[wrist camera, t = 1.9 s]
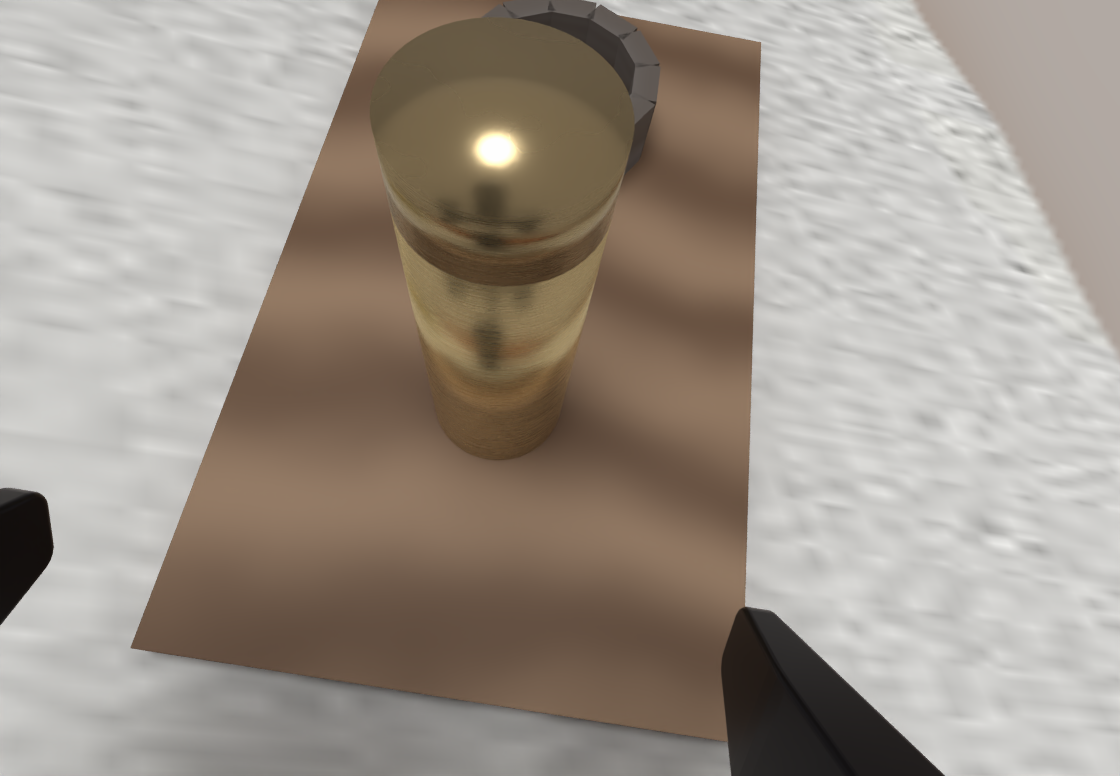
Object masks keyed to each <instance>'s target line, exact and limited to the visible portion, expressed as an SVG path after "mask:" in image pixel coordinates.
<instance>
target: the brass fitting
mask: <svg viewBox="0 0 1120 776" xmlns="http://www.w3.org/2000/svg"><path fill="white" fill-rule="evenodd" d="M370 121H371V128H372V133H373V137H374V141H375V146H376V150H377V155H378V159H379V163H380V168H381V172H382V177H383V181H384V186H385V190H386V194H387V199H388V203H389V208H390V212H391V216H392V221H393V225H394V230H395V234H396V238H397V243H398V247H399V252H400V256H401V260H402V265H403V269H404V274H405V278H406V282H407V287H408V291H409V296H410V300H411V304H412V309H413V313H414V318H415V322H416V326H417V331H418V335H419V340H420V344H421V349H422V353H423V357H424V362H425V366H426V371H427V375H428V379H429V384H430V388H431V393H432V397H433V401H434V406H435V410H436V415H437V418H438V421H439V423H440V425H441V428H442V430H443V431H444V433H445V434H446V436H447V437H448V438H449V439H450V440H451V441H452V442H453V443H454V444H455V445H456V446H457V447H459V448H460V449H462V450H463V451H465V452H467V453H469V454H471V455H473V456H476V457H479V458H483V459H488V460H508V459H514V458H517V457H520V456H523V455H525V454H528V453H530V452H531V451H533V450H535V449H536V448H538V447H539V446H540V445H541V444H542V443H544V441H545V440H546V439H547V438H548V437H549V436H550V434H551V433H552V431H553V430H554V428H555V426H556V424H557V421H558V418H559V415H560V412H561V408H562V404H563V400H564V397H565V393H566V389H567V385H568V382H569V378H570V374H571V370H572V367H573V363H574V359H575V355H576V352H577V348H578V344H579V341H580V337H581V333H582V329H583V326H584V322H585V318H586V314H587V311H588V307H589V303H590V299H591V296H592V292H593V288H594V284H595V281H596V277H597V273H598V269H599V266H600V262H601V258H602V254H603V251H604V247H605V243H606V239H607V236H608V232H609V228H610V224H611V221H612V217H613V213H614V209H615V206H616V202H617V198H618V195H619V191H620V187H621V183H622V180H623V176H624V172H625V168H626V165H627V161H628V157H629V153H630V150H631V146H632V142H633V136H634V130H635V121H634V111H633V106H632V102H631V99H630V96H629V93H628V91H627V89H626V87H625V85H624V83H623V81H622V79H621V78H620V77H619V75H618V74H617V72H616V71H615V70H614V68H613V67H612V66H611V65H610V64H609V63H608V62H607V61H606V60H605V59H604V58H603V57H602V56H601V55H600V54H599V53H597V52H596V51H595V50H594V49H593V48H591V47H590V46H588V45H587V44H585V43H584V42H582V41H581V40H579V39H577V38H575V37H573V36H571V35H569V34H568V33H565V32H563V31H561V30H558V29H556V28H553V27H550V26H547V25H544V24H540V23H537V22H532V21H527V20H522V19H514V18H505V17H485V18H472V19H466V20H460V21H456V22H452V23H448V24H445V25H442V26H439V27H436V28H434V29H431V30H429V31H427V32H425V33H423V34H421V35H419V36H417V37H415V38H414V39H413V40H411V41H410V42H408V43H407V44H405V45H404V46H403V47H402V48H400V49H399V50H398V51H397V52H396V53H395V54H394V55H393V56H392V57H391V58H390V59H389V61H388V62H387V63H386V64H385V66H384V67H383V69H382V70H381V72H380V74H379V75H378V77H377V80H376V82H375V85H374V87H373V90H372V95H371V100H370Z"/></svg>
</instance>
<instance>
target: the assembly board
mask: <svg viewBox="0 0 1120 776" xmlns="http://www.w3.org/2000/svg"><path fill="white" fill-rule="evenodd" d="M485 17H505V18H514V19H522V20H527V21H532V22H537V23H540V24H544V25H547V26H550V27H553V28H556V29H558V30H561V31H563V32H565V33H568V34H569V35H571V36H573V37H575V38H577V39H579V40H581V41H582V42H584V43H585V44H587V45H588V46H590V47H591V48H593V49H594V50H595V51H596V52H597V53H599V54H600V55H601V56H602V57H603V58H604V59H605V60H606V61H607V62H608V63H609V64H610V65H611V66H612V67H613V68H614V70H615V71H616V72H617V74H618V75H619V77H620V78H621V79H622V81H623V83H624V85H625V87H626V89H627V91H628V93H629V96H630V99H631V102H632V106H633V111H634V121H635V130H634V136H633V142H632V146H631V150H630V153H629V157H628V161H627V165H626V168H625V172H624V176H623V180H622V183H621V187H620V191H619V195H618V198H617V202H616V206H615V209H614V213H613V217H612V221H611V224H610V228H609V232H608V236H607V239H606V243H605V247H604V251H603V254H602V258H601V262H600V266H599V269H598V273H597V277H596V281H595V284H594V288H593V292H592V296H591V299H590V303H589V307H588V311H587V314H586V318H585V322H584V326H583V329H582V333H581V337H580V341H579V344H578V348H577V352H576V355H575V359H574V363H573V367H572V370H571V374H570V378H569V382H568V385H567V389H566V393H565V397H564V400H563V404H562V408H561V412H560V415H559V418H558V421H557V424H556V426H555V428H554V430H553V431H552V433H551V434H550V436H549V437H548V438H547V439H546V440H545V441H544V443H542V444H541V445H540V446H539V447H538V448H536V449H535V450H533V451H531V452H530V453H528V454H525V455H523V456H520V457H517V458H514V459H508V460H488V459H483V458H479V457H476V456H473V455H471V454H469V453H467V452H465V451H463V450H462V449H460V448H459V447H457V446H456V445H455V444H454V443H453V442H452V441H451V440H450V439H449V438H448V437H447V436H446V434H445V433H444V431H443V430H442V428H441V425H440V423H439V421H438V418H437V415H436V410H435V406H434V401H433V397H432V393H431V388H430V384H429V379H428V375H427V371H426V366H425V362H424V357H423V353H422V349H421V344H420V340H419V335H418V331H417V326H416V322H415V318H414V313H413V309H412V304H411V300H410V296H409V291H408V287H407V282H406V278H405V274H404V269H403V265H402V260H401V256H400V252H399V247H398V243H397V238H396V234H395V230H394V225H393V221H392V216H391V212H390V208H389V203H388V199H387V194H386V190H385V186H384V181H383V177H382V172H381V168H380V163H379V159H378V155H377V150H376V146H375V141H374V137H373V133H372V128H371V121H370V100H371V95H372V90H373V87H374V85H375V82H376V80H377V77H378V75H379V74H380V72H381V70H382V69H383V67H384V66H385V64H386V63H387V62H388V61H389V59H390V58H391V57H392V56H393V55H394V54H395V53H396V52H397V51H398V50H399V49H400V48H402V47H403V46H404V45H405V44H407V43H408V42H410V41H411V40H413V39H414V38H415V37H417V36H419V35H421V34H423V33H425V32H427V31H429V30H431V29H434V28H436V27H439V26H442V25H445V24H448V23H452V22H456V21H460V20H466V19H472V18H485ZM760 62H761V42H756V41H751V40H746V39H740V38H735V37H730V36H724V35H719V34H714V33H709V32H703V31H698V30H693V29H687V28H682V27H677V26H672V25H666V24H661V23H656V22H650V21H645V20H640V19H635V18H629V17H624V16H619V15H616V14H615V13H613V12H612V11H610V10H608V9H607V8H605V7H604V6H602V5H599V6H598V7H597V8H596V3H594V2H589V1H583V0H379V1H378V3H377V6H376V9H375V11H374V14H373V16H372V19H371V22H370V24H369V27H368V29H367V32H366V35H365V37H364V40H363V42H362V45H361V48H360V50H359V53H358V56H357V58H356V61H355V63H354V66H353V69H352V71H351V74H350V76H349V79H348V82H347V84H346V87H345V89H344V92H343V95H342V97H341V100H340V103H339V105H338V108H337V110H336V113H335V116H334V118H333V121H332V123H331V126H330V129H329V131H328V134H327V136H326V139H325V142H324V144H323V147H322V149H321V152H320V155H319V157H318V160H317V163H316V165H315V168H314V170H313V173H312V176H311V178H310V181H309V183H308V186H307V189H306V191H305V194H304V196H303V199H302V202H301V204H300V207H299V209H298V212H297V215H296V217H295V220H294V223H293V225H292V228H291V230H290V233H289V236H288V238H287V241H286V243H285V246H284V249H283V251H282V254H281V256H280V259H279V262H278V264H277V267H276V269H275V272H274V275H273V277H272V280H271V283H270V285H269V288H268V290H267V293H266V296H265V298H264V301H263V303H262V306H261V309H260V311H259V314H258V316H257V319H256V322H255V324H254V327H253V330H252V332H251V335H250V337H249V340H248V343H247V345H246V348H245V350H244V353H243V356H242V358H241V361H240V363H239V366H238V369H237V371H236V374H235V376H234V379H233V382H232V384H231V387H230V390H229V392H228V395H227V397H226V400H225V403H224V405H223V408H222V410H221V413H220V416H219V418H218V421H217V423H216V426H215V429H214V431H213V434H212V436H211V439H210V442H209V444H208V447H207V450H206V452H205V455H204V457H203V460H202V463H201V465H200V468H199V470H198V473H197V476H196V478H195V481H194V483H193V486H192V489H191V491H190V494H189V496H188V499H187V502H186V504H185V507H184V510H183V512H182V515H181V517H180V520H179V523H178V525H177V528H176V530H175V533H174V536H173V538H172V541H171V543H170V546H169V549H168V551H167V554H166V557H165V559H164V562H163V564H162V567H161V570H160V572H159V575H158V577H157V580H156V583H155V585H154V588H153V590H152V593H151V596H150V598H149V601H148V603H147V606H146V609H145V611H144V614H143V617H142V619H141V622H140V624H139V627H138V630H137V632H136V635H135V637H134V640H133V643H132V645H131V648H133V649H139V650H145V651H152V652H158V653H165V654H171V655H177V656H184V657H190V658H196V659H203V660H209V661H216V662H222V663H228V664H235V665H241V666H247V667H254V668H260V669H267V670H273V671H279V672H286V673H292V674H298V675H305V676H311V677H318V678H324V679H330V680H337V681H343V682H349V683H356V684H362V685H369V686H375V687H381V688H388V689H394V690H400V691H407V692H413V693H420V694H426V695H432V696H439V697H445V698H451V699H458V700H464V701H471V702H477V703H483V704H490V705H496V706H502V707H509V708H515V709H522V710H528V711H534V712H541V713H547V714H553V715H560V716H566V717H573V718H579V719H585V720H592V721H598V722H604V723H611V724H617V725H624V726H630V727H636V728H643V729H649V730H655V731H662V732H668V733H675V734H681V735H687V736H694V737H700V738H706V739H713V740H719V741H726V742H728V738H727V728H726V718H725V708H724V698H723V688H722V678H721V661H722V655H723V652H724V649H725V646H726V643H727V640H728V637H729V634H730V631H731V628H732V625H733V622H734V619H735V616H736V614H737V612H738V611H739V609H741V608H743V607H745V584H746V550H747V515H748V480H749V445H750V410H751V375H752V341H753V306H754V271H755V236H756V201H757V166H758V131H759V97H760Z"/></svg>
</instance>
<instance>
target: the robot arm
mask: <svg viewBox="0 0 1120 776" xmlns="http://www.w3.org/2000/svg"><path fill="white" fill-rule="evenodd" d="M53 548H54V545H53V537H52V530H51V523H50V516H49V509H48V503H47V500H46V499H45V497H44V496H43V495H42V494H40V493H38V492H33V491H27V490H21V489H15V488H2V489H0V625H1V624H2V623H3V621H4V620H5V619H6V618H7V616H8V615H9V614H10V613H11V611H12V610H13V609H14V608H15V606H16V605H17V604H18V603H19V601H20V600H21V599H22V597H23V596H24V595H25V594H26V592H27V591H28V590H29V589H30V587H31V586H32V585H33V584H34V582H35V581H36V580H37V579H38V577H39V576H40V575H41V574H42V572H43V571H44V570H45V568H46V567H47V565H48V564H49V562H50V560H51V557H52V554H53ZM721 678H722V688H723V698H724V708H725V718H726V728H727V738H728V748H729V758H730V768H731V776H945V775H944V774H943V773H942V772H941V771H940V770H938V769H937V768H936V767H935V766H934V765H933V764H932V763H931V762H930V761H929V760H928V759H927V758H926V757H925V756H924V755H923V754H922V753H921V752H920V751H919V750H918V749H916V748H915V747H914V746H913V745H912V744H911V743H910V742H909V741H908V740H907V739H906V738H905V737H904V736H903V735H902V734H901V733H900V732H899V731H898V730H897V729H895V728H894V727H893V726H892V725H891V724H890V723H889V722H888V721H887V720H886V719H885V718H884V717H883V716H882V715H881V714H880V713H879V712H878V711H877V710H876V709H875V708H873V707H872V706H871V705H870V704H869V703H868V702H867V701H866V700H865V699H864V698H863V697H862V696H861V695H860V694H859V693H858V692H857V691H856V690H855V689H854V688H852V687H851V686H850V685H849V684H848V683H847V682H846V681H845V680H844V679H843V678H842V677H841V676H840V675H839V674H838V673H837V672H836V671H835V670H834V669H833V668H832V667H830V666H829V665H828V664H827V663H826V662H825V661H824V660H823V659H822V658H821V657H820V656H819V655H818V654H817V653H816V652H815V651H814V650H813V649H812V648H811V647H809V646H808V645H807V644H806V643H805V642H804V641H803V640H802V639H801V638H800V637H799V636H798V635H797V634H796V633H795V632H794V631H793V630H792V629H791V628H790V627H789V626H787V625H786V624H785V623H784V622H783V621H782V620H781V619H780V618H779V617H778V616H777V615H776V614H775V613H773V612H772V611H769V610H763V609H757V608H751V607H743V608H741V609H739V611H738V612H737V614H736V616H735V619H734V622H733V625H732V628H731V631H730V634H729V637H728V640H727V643H726V646H725V649H724V652H723V655H722V661H721Z"/></svg>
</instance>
